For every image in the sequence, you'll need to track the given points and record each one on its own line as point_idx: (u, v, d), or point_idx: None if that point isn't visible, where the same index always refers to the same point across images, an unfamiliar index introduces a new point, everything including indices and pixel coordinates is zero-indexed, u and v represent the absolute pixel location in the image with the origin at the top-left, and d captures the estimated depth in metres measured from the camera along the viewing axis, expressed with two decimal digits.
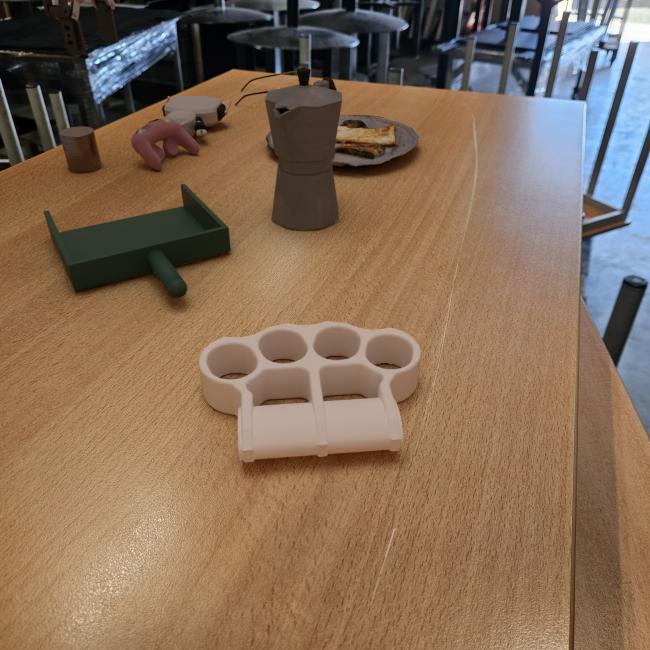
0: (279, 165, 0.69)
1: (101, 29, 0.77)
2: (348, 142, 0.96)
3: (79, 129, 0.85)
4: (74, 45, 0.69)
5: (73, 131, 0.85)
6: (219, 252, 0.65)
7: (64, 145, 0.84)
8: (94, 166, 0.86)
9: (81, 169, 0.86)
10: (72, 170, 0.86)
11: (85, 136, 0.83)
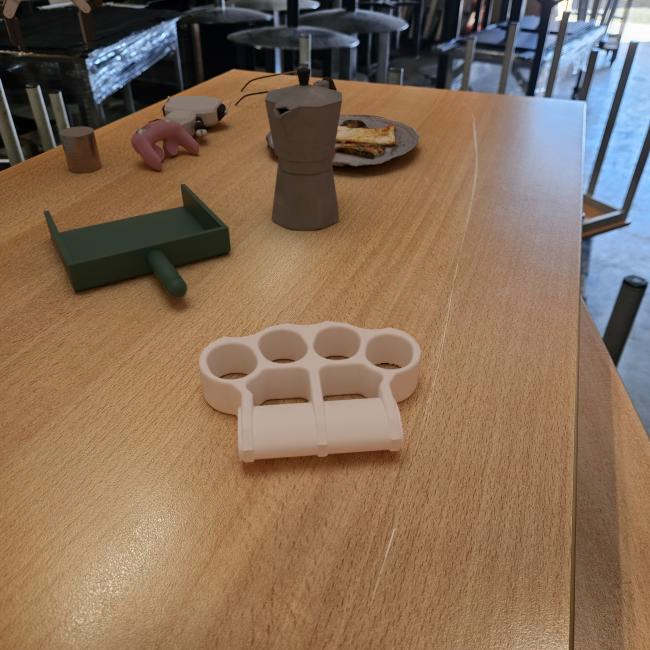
0: (279, 165, 0.69)
1: (82, 30, 0.79)
2: (348, 142, 0.96)
3: (79, 129, 0.85)
4: (11, 40, 0.75)
5: (73, 131, 0.85)
6: (219, 252, 0.65)
7: (64, 145, 0.84)
8: (94, 166, 0.86)
9: (81, 169, 0.86)
10: (72, 170, 0.86)
11: (85, 136, 0.83)
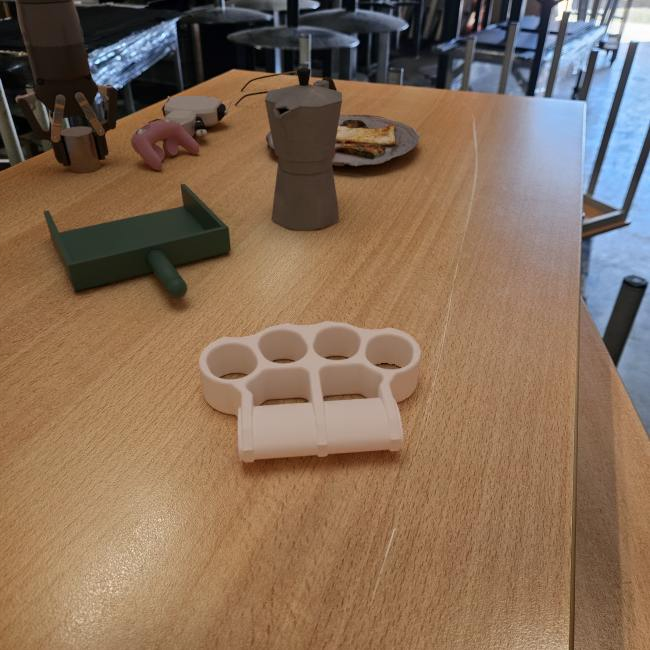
0: (279, 165, 0.69)
1: None
2: (348, 142, 0.96)
3: (79, 129, 0.85)
4: (56, 159, 0.85)
5: (73, 131, 0.85)
6: (219, 252, 0.65)
7: (64, 145, 0.84)
8: (94, 166, 0.86)
9: (81, 169, 0.86)
10: (72, 170, 0.86)
11: (85, 136, 0.83)
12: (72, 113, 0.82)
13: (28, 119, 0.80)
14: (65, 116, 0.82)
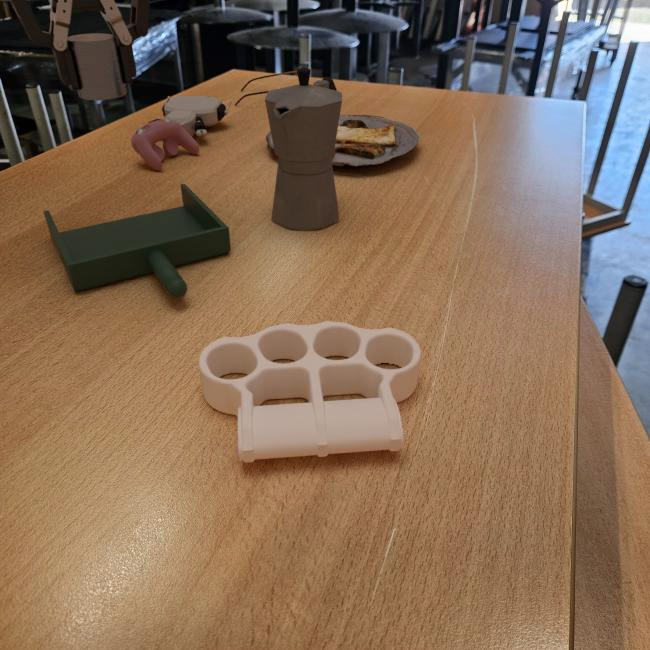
0: (279, 165, 0.69)
1: None
2: (348, 142, 0.96)
3: (94, 35, 0.58)
4: (61, 78, 0.58)
5: (86, 37, 0.57)
6: (219, 252, 0.65)
7: (73, 57, 0.57)
8: (116, 91, 0.59)
9: (98, 95, 0.58)
10: (84, 96, 0.59)
11: (104, 43, 0.56)
12: (85, 6, 0.55)
13: (19, 10, 0.52)
14: (74, 10, 0.55)
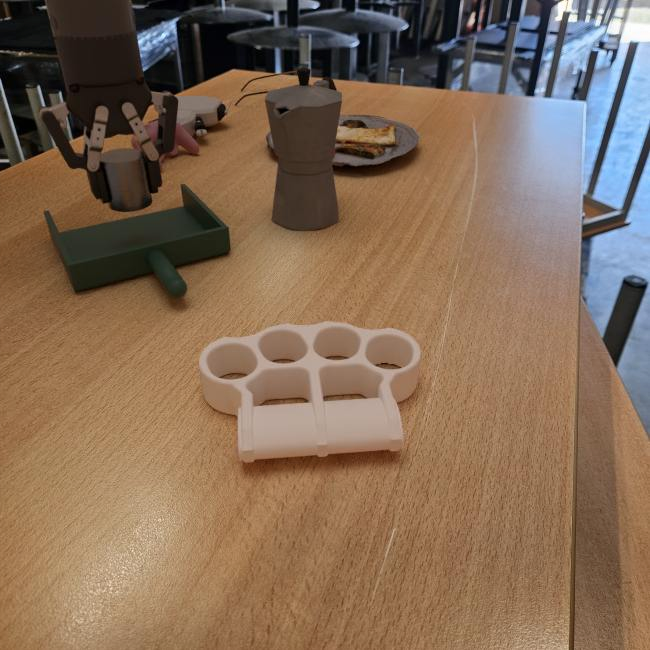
0: (279, 165, 0.69)
1: None
2: (348, 142, 0.96)
3: (124, 152, 0.62)
4: (93, 194, 0.62)
5: (117, 155, 0.61)
6: (219, 252, 0.65)
7: (104, 175, 0.61)
8: (144, 203, 0.63)
9: (127, 208, 0.62)
10: (114, 208, 0.63)
11: (133, 163, 0.60)
12: (117, 131, 0.59)
13: (56, 141, 0.56)
14: (106, 135, 0.59)
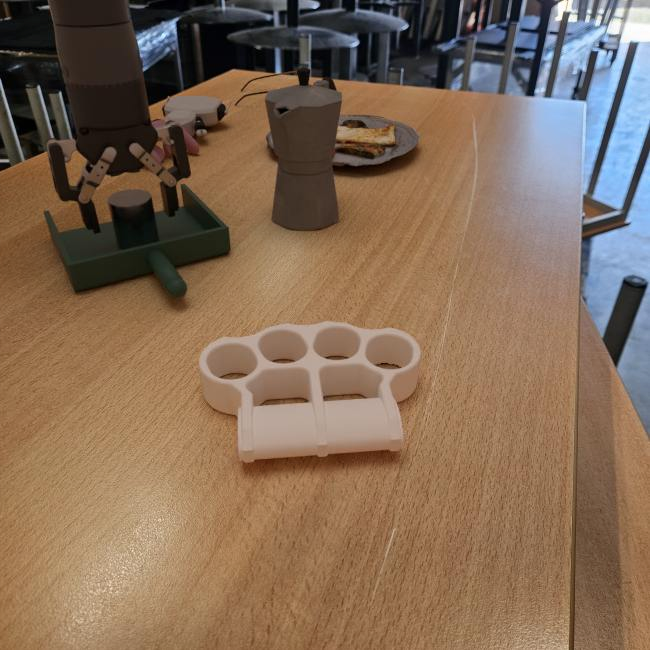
0: (279, 165, 0.69)
1: (163, 201, 0.67)
2: (348, 142, 0.96)
3: (132, 194, 0.65)
4: (84, 224, 0.63)
5: (125, 197, 0.64)
6: (219, 252, 0.65)
7: (114, 216, 0.64)
8: (151, 242, 0.66)
9: None
10: (123, 247, 0.66)
11: (142, 205, 0.63)
12: (124, 170, 0.61)
13: (56, 172, 0.58)
14: (114, 174, 0.61)
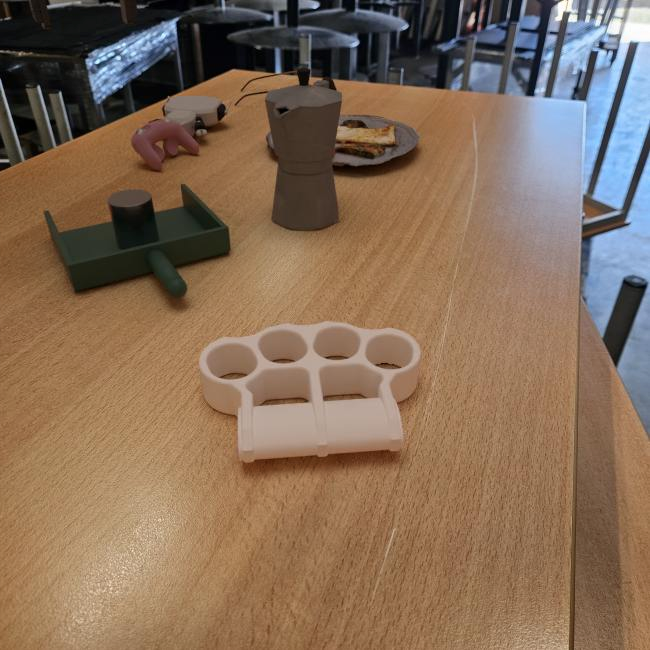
0: (279, 165, 0.69)
1: (121, 7, 0.63)
2: (348, 142, 0.96)
3: (132, 194, 0.65)
4: (34, 16, 0.59)
5: (125, 197, 0.64)
6: (219, 252, 0.65)
7: (114, 216, 0.64)
8: (151, 242, 0.66)
9: None
10: (123, 247, 0.66)
11: (142, 205, 0.63)
12: None
13: None
14: None
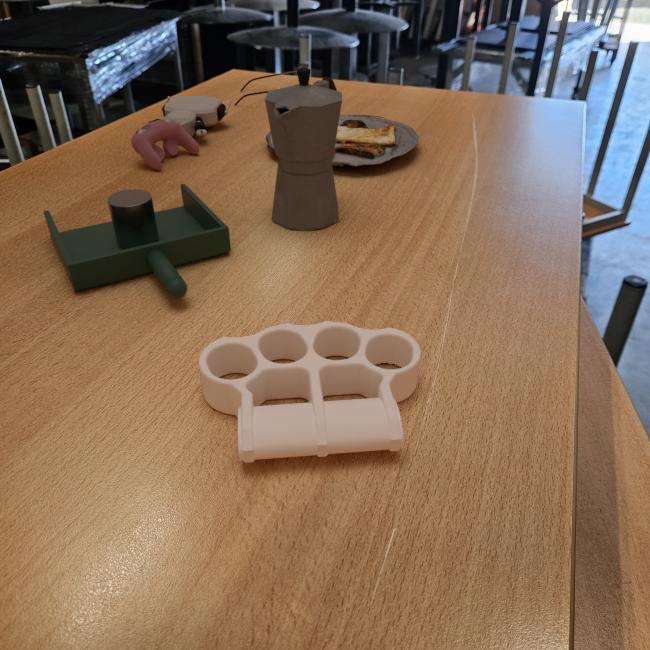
0: (279, 165, 0.69)
1: None
2: (348, 142, 0.96)
3: (132, 194, 0.65)
4: None
5: (125, 197, 0.64)
6: (219, 252, 0.65)
7: (114, 216, 0.64)
8: (151, 242, 0.66)
9: None
10: (123, 247, 0.66)
11: (142, 205, 0.63)
12: None
13: None
14: None
